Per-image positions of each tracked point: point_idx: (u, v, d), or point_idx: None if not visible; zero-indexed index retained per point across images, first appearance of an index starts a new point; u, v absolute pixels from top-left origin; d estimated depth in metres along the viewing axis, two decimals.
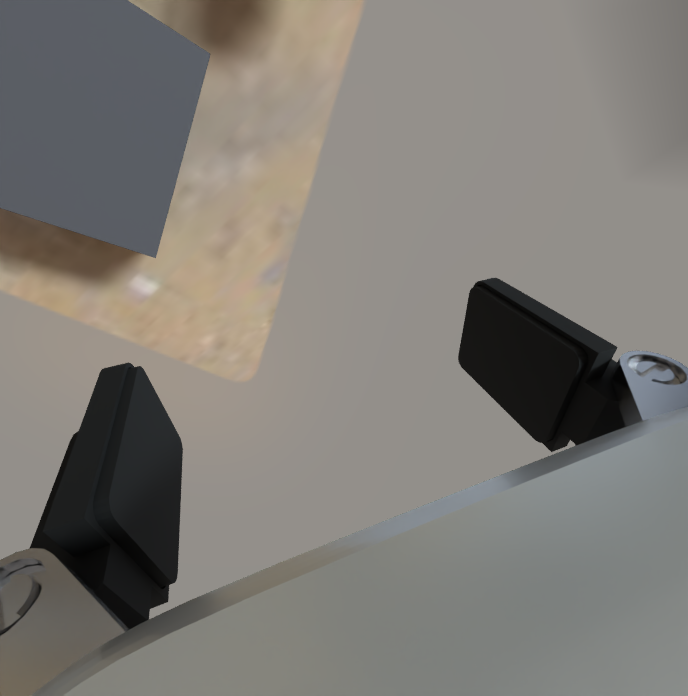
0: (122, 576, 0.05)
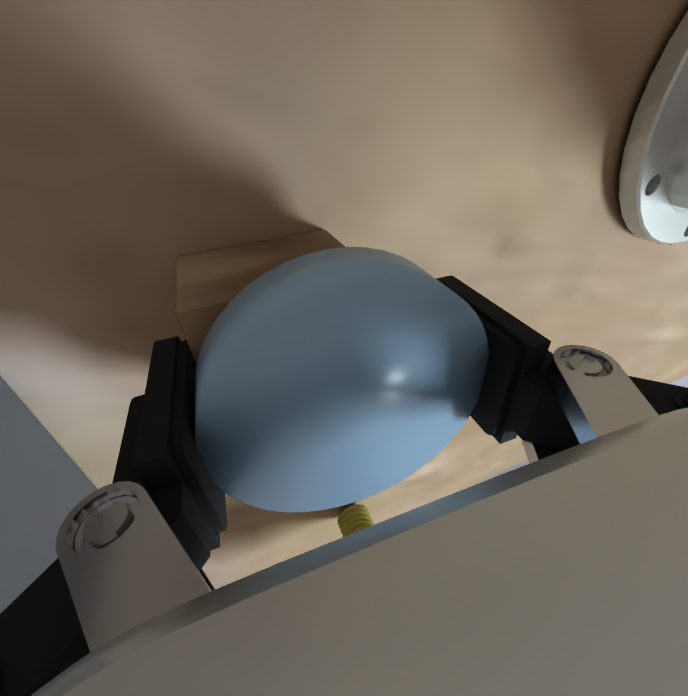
0: (191, 512, 0.06)
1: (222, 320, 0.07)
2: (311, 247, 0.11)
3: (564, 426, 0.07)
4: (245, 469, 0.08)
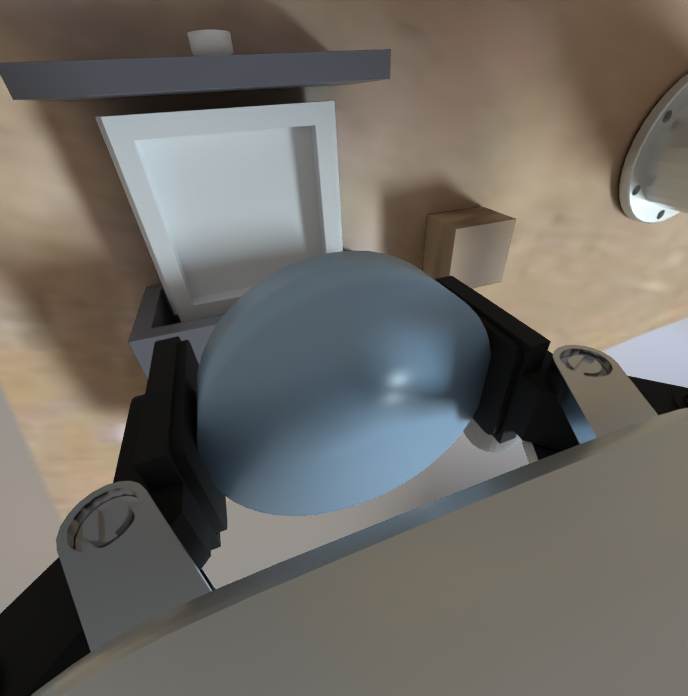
0: (192, 512, 0.06)
1: (224, 324, 0.07)
2: (483, 212, 0.27)
3: (564, 425, 0.07)
4: (247, 473, 0.08)
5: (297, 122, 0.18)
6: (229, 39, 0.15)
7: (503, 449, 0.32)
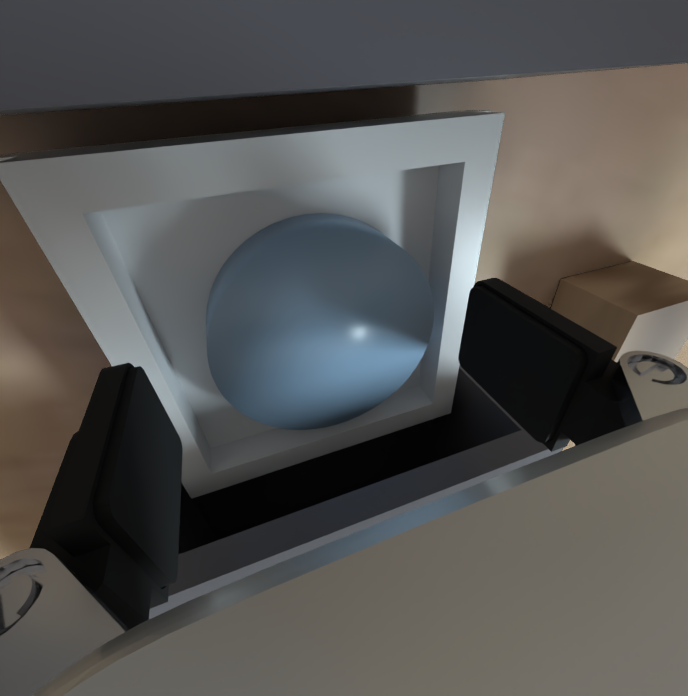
0: (122, 576, 0.05)
1: (227, 264, 0.09)
2: (647, 274, 0.17)
3: None
4: (243, 382, 0.10)
5: (433, 158, 0.09)
6: None
7: None
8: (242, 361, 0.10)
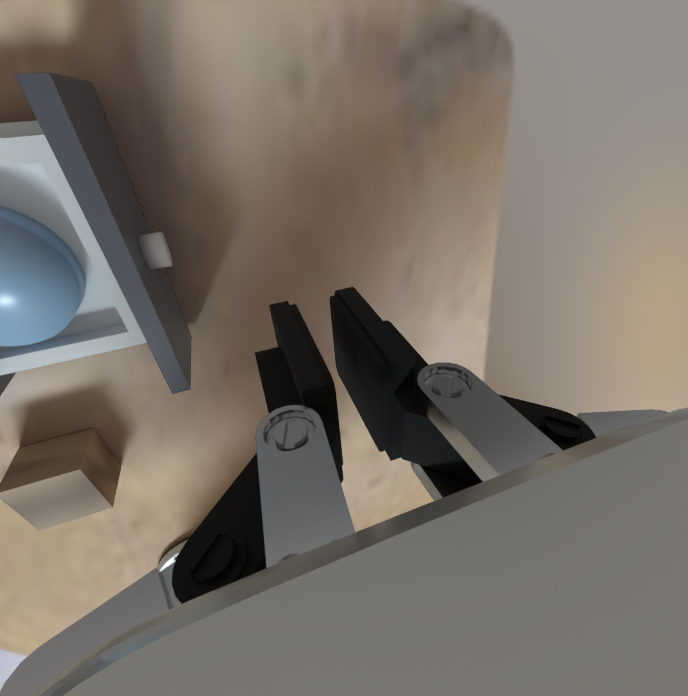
0: None
1: (36, 223, 0.17)
2: (113, 473, 0.28)
3: (433, 445, 0.07)
4: None
5: (124, 317, 0.20)
6: (165, 266, 0.19)
7: None
8: None
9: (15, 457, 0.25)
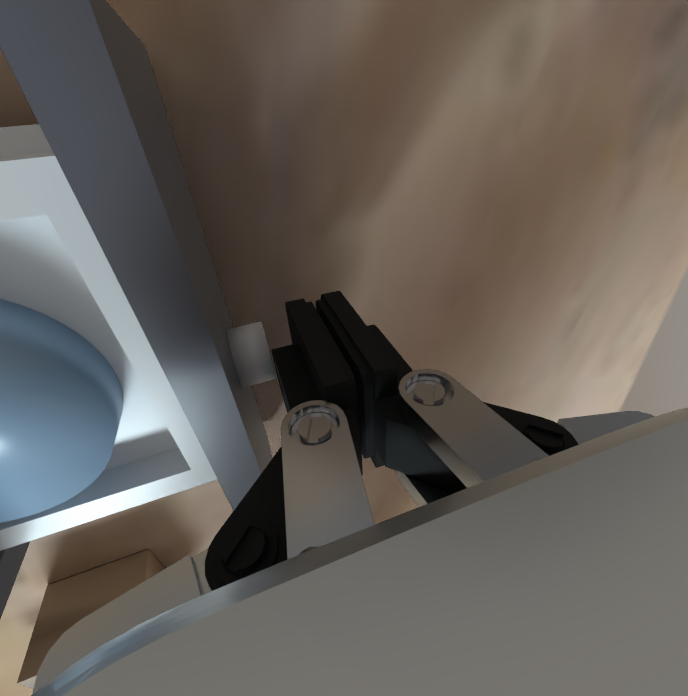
0: None
1: (47, 324, 0.09)
2: None
3: (415, 454, 0.07)
4: None
5: (187, 451, 0.12)
6: None
7: None
8: None
9: (43, 605, 0.17)
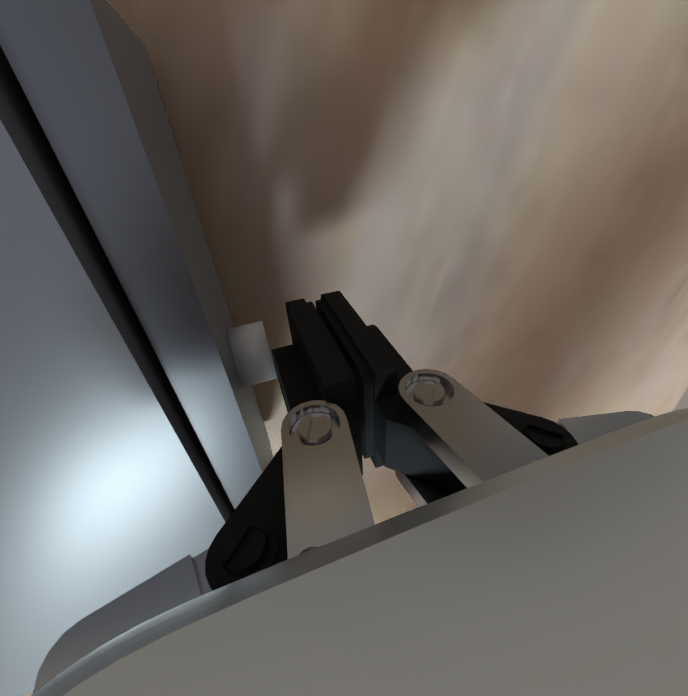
0: None
1: None
2: None
3: (415, 454, 0.07)
4: None
5: None
6: None
7: None
8: None
9: None
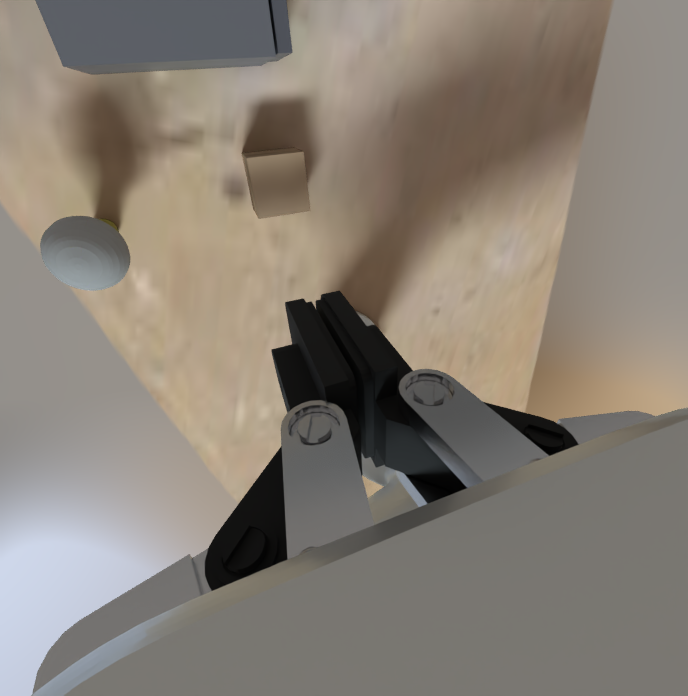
0: None
1: None
2: None
3: (415, 454, 0.07)
4: None
5: None
6: None
7: (64, 261, 0.24)
8: None
9: (244, 154, 0.31)
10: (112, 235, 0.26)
